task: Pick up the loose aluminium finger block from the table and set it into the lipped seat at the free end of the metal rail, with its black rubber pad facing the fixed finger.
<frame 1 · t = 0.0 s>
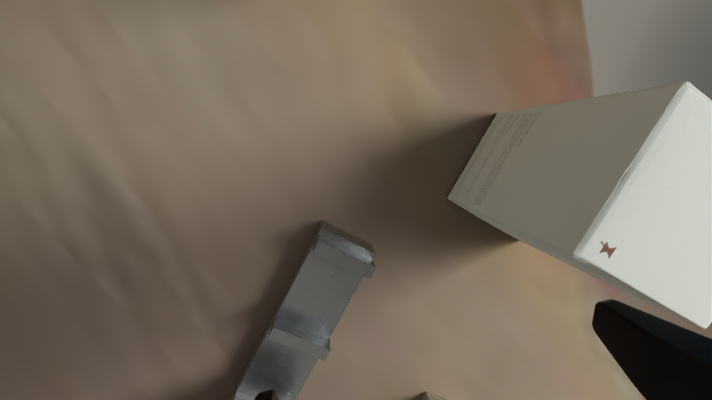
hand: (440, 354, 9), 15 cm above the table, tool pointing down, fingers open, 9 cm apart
rail: (291, 337, 25), on the table
supplement box: (508, 178, 25), on the table
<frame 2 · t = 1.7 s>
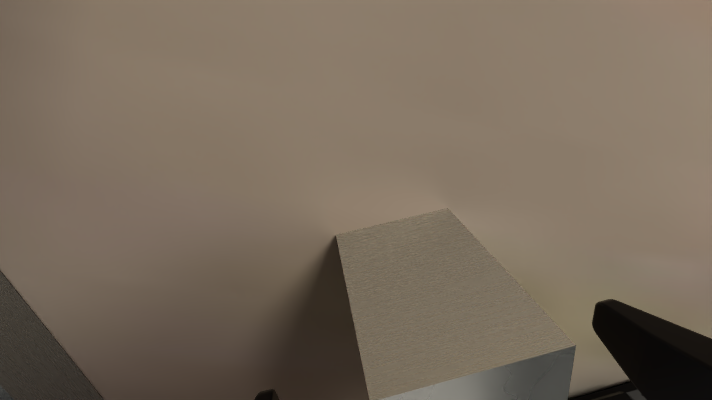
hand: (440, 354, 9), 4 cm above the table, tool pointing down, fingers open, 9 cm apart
finger block: (399, 267, 12), on the table
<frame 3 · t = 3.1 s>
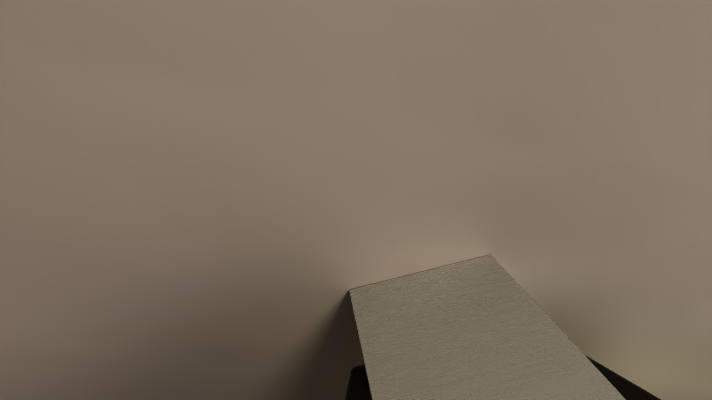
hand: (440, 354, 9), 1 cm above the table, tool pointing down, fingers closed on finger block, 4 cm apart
finger block: (427, 325, 10), on the table, touching gripper
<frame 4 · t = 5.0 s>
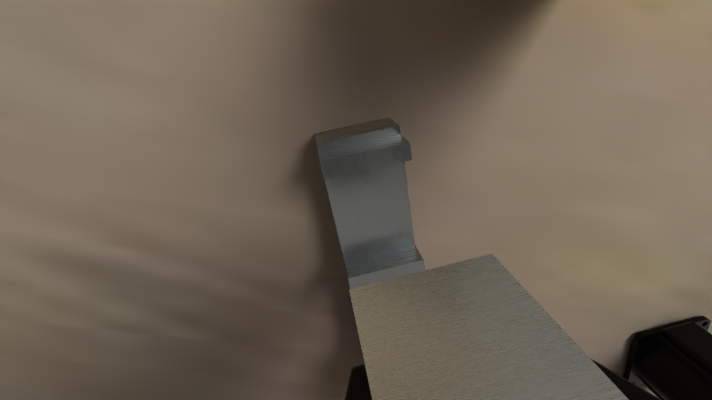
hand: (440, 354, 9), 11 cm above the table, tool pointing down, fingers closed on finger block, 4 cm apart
rail: (378, 264, 21), on the table
finger block: (427, 325, 10), point 10 cm above the table, touching gripper
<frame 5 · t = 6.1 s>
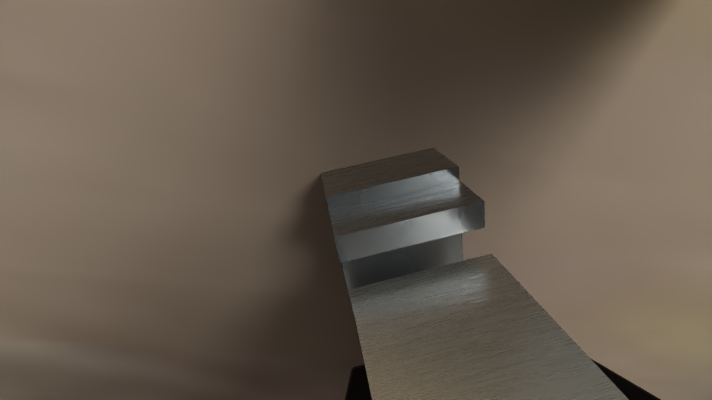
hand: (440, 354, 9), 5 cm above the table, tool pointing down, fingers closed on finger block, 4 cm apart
rail: (406, 343, 15), on the table
finger block: (427, 324, 10), point 4 cm above the table, touching gripper
when the fingers open (4 cm above the table, at t = 7.0 s): finger block stays where it is, resting on rail.
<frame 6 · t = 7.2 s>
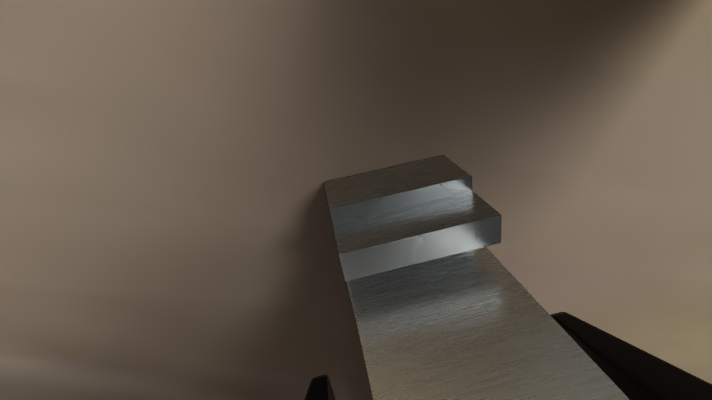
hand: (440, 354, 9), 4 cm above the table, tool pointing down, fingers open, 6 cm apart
rail: (412, 357, 15), on the table
finger block: (417, 301, 11), point 2 cm above the table, touching rail
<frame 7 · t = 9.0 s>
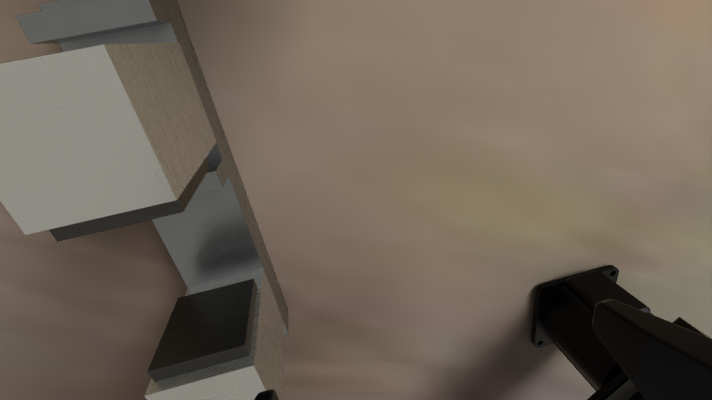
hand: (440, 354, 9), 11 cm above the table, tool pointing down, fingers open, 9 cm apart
rail: (205, 195, 18), on the table
finger block: (149, 105, 14), point 2 cm above the table, touching rail
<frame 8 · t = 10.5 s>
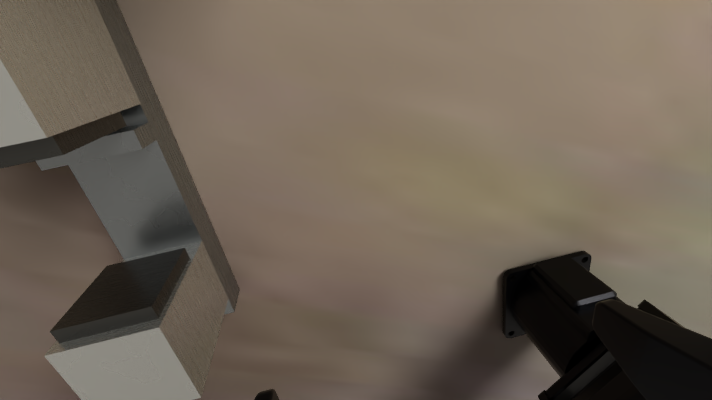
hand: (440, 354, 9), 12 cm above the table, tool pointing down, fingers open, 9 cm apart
rail: (144, 165, 17), on the table
finger block: (67, 63, 13), point 2 cm above the table, touching rail
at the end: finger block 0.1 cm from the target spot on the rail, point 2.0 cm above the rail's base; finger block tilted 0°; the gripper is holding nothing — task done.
